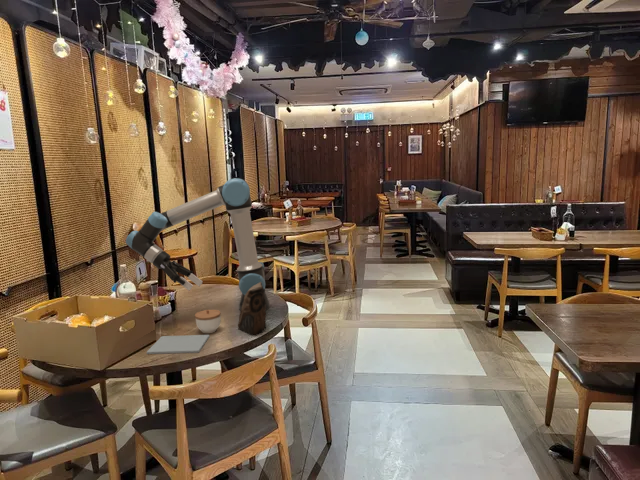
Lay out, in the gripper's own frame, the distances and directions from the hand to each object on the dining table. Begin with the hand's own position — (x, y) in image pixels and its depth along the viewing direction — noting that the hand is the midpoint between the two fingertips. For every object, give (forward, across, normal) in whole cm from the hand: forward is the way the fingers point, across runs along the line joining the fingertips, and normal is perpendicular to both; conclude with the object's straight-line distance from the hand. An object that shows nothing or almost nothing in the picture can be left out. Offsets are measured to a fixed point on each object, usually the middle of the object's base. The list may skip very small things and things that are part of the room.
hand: (196, 286), depth 194 cm
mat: (+12, +19, -18) cm, 28 cm away
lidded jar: (+17, +4, -11) cm, 20 cm away
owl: (+31, +3, 0) cm, 32 cm away
